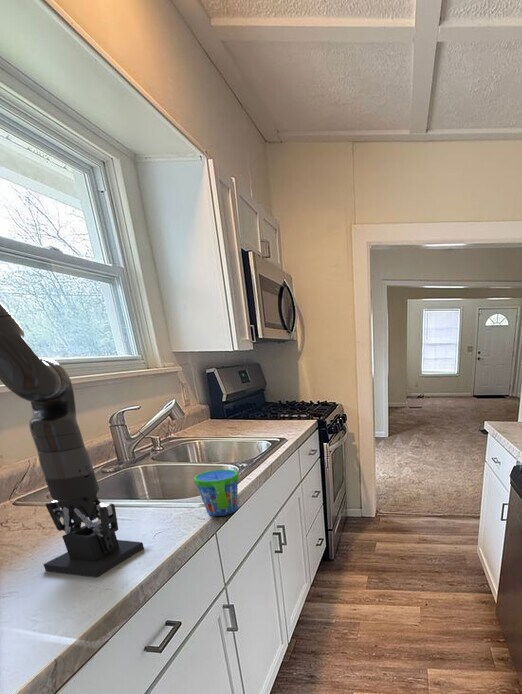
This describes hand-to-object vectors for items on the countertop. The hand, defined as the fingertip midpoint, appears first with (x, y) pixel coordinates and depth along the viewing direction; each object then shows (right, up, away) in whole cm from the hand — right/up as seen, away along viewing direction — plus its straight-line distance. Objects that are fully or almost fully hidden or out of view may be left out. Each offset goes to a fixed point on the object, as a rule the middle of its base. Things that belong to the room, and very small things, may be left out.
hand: (94, 550), depth 82 cm
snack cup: (+16, +8, +24) cm, 30 cm away
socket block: (0, -1, 0) cm, 1 cm away
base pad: (0, -2, +1) cm, 2 cm away
